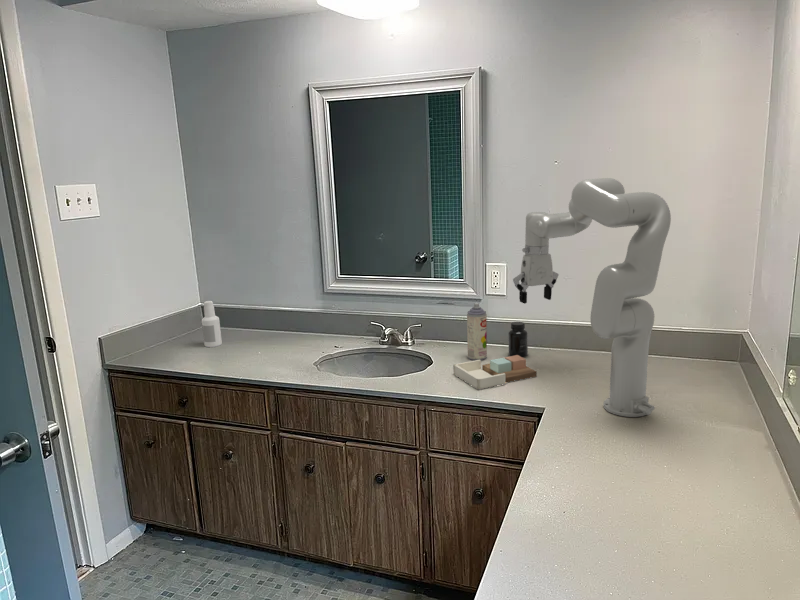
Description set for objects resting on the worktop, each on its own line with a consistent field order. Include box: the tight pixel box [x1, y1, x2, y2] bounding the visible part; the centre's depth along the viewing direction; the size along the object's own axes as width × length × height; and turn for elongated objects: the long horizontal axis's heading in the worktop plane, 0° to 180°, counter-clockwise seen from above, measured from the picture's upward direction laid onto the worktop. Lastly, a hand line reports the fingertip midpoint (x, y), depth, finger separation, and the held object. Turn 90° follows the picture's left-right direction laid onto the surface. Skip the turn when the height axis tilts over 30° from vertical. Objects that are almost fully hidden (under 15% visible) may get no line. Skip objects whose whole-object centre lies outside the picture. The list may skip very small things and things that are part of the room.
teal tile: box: [489, 357, 511, 373], centre depth 202 cm, size 5×5×3 cm
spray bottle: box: [201, 300, 223, 348], centre depth 247 cm, size 7×7×18 cm
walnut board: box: [481, 363, 537, 383], centre depth 204 cm, size 14×12×2 cm
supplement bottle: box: [507, 321, 529, 358], centre depth 220 cm, size 7×7×12 cm
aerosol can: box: [466, 302, 488, 361], centre depth 218 cm, size 7×7×20 cm
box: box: [452, 360, 506, 391], centre depth 199 cm, size 16×10×4 cm, turn 23°
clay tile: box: [504, 355, 527, 370], centre depth 204 cm, size 5×5×3 cm
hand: (535, 300), depth 205 cm, fingers open, 9 cm apart
